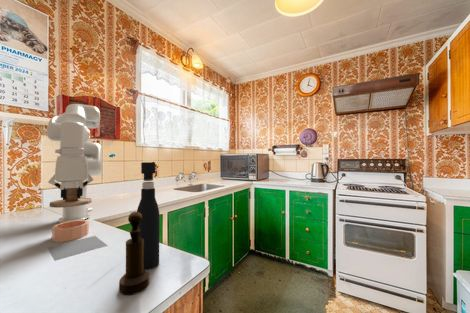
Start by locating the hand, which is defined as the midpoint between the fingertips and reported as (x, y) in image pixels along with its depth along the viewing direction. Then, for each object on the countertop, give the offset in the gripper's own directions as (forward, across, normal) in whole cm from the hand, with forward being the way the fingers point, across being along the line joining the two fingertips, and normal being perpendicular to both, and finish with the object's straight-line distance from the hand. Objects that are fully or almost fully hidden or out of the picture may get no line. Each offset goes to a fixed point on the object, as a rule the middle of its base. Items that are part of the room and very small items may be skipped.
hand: (71, 198), depth 80 cm
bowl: (+15, 0, 0) cm, 15 cm away
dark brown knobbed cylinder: (+16, +11, -50) cm, 53 cm away
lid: (+2, 0, 0) cm, 2 cm away
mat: (+15, +1, -14) cm, 21 cm away
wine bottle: (+16, +16, -41) cm, 47 cm away
